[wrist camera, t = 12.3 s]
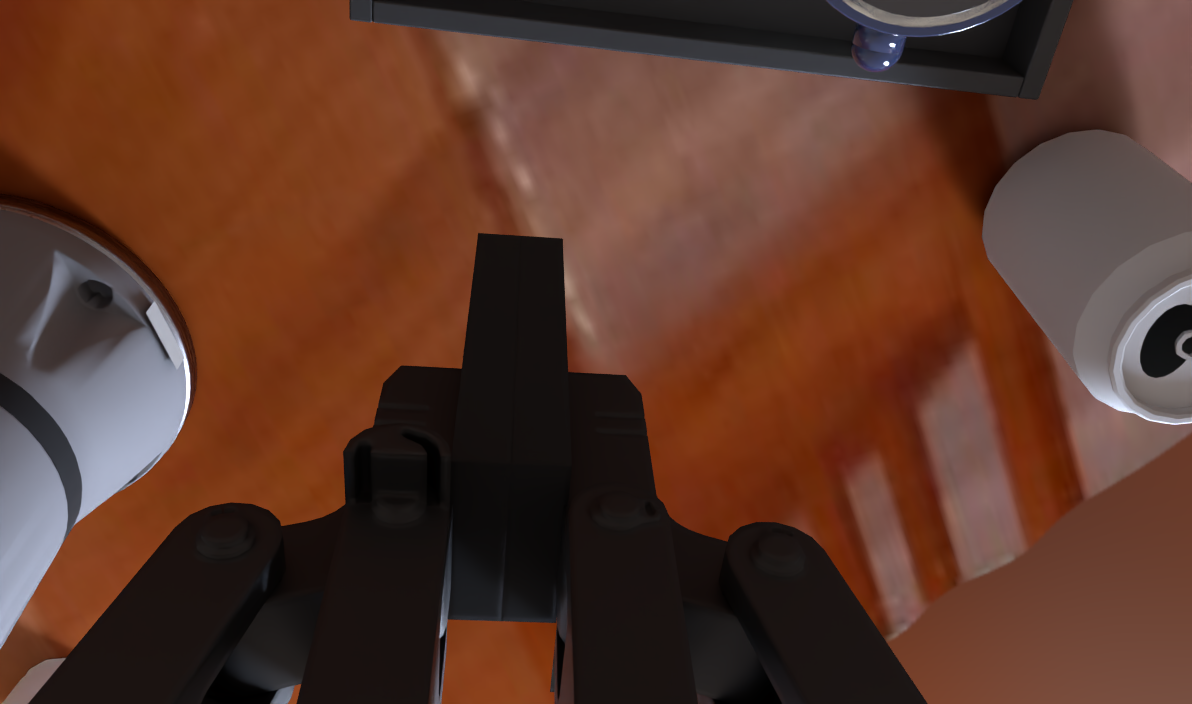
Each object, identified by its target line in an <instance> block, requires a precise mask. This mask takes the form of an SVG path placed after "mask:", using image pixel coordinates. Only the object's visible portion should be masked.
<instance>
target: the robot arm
mask: <svg viewBox="0 0 1192 704" xmlns="http://www.w3.org/2000/svg"><path fill="white" fill-rule="evenodd" d="M196 382H197V364H196V357H195V351H194V346H193V343H192V339H191V336H190V333H189V330H188V328H187V325H186V323H185V320H184V318H183V316H182V314H181V312H180V311H179V309H178V307H177V305H176V304H175V302H174V300H173V299H172V297H171V296H170V294H169V293H168V291H167V290H166V289H165V287H164V286H163V285H162V283H161V282H160V281H159V279H158V278H157V277H156V276H155V275H154V274H153V273H152V272H151V271H150V270H149V268H148V267H147V266H146V265H145V264H144V263H143V262H141V261H140V260H139V259H138V258H137V257H136V256H135V255H134V254H133V253H132V252H130V251H129V250H128V249H127V248H125V247H124V246H123V245H122V244H120V243H119V242H118V241H116V240H115V239H114V238H112V237H111V236H109V235H108V234H106V233H105V232H103V231H102V230H100V229H98V228H97V227H95V226H93V225H91V224H90V223H88V222H86V221H84V220H82V219H80V218H78V217H76V216H74V215H72V214H70V213H68V212H65V211H63V210H60V209H57V208H55V207H52V206H50V205H47V204H43V203H40V202H37V201H34V200H30V199H26V198H21V197H17V196H12V195H5V194H0V649H1V647H2V646H3V644H4V642H5V641H6V639H7V637H8V636H9V634H10V632H11V630H12V629H13V627H14V625H15V624H16V622H17V620H18V619H19V617H20V615H21V613H22V612H23V610H24V608H25V607H26V605H27V603H28V602H29V600H30V598H31V596H32V595H33V593H34V591H35V590H36V588H37V586H38V585H39V583H40V581H41V580H42V578H43V576H44V574H45V573H46V571H47V569H48V568H49V566H50V564H51V563H52V561H53V559H54V557H55V556H56V554H57V552H58V550H59V548H60V547H61V545H62V544H63V542H64V540H65V539H66V537H67V536H68V534H69V532H70V531H71V529H72V528H73V526H74V525H75V524H76V523H77V522H78V521H80V520H81V519H82V518H84V517H85V516H86V515H88V514H89V513H90V512H91V511H93V510H94V509H95V508H97V507H98V506H99V505H100V504H102V503H103V502H104V501H105V500H107V499H108V498H109V497H111V496H112V495H113V494H115V493H117V492H119V491H121V490H123V489H125V488H126V487H128V486H129V485H131V484H132V483H134V482H135V481H137V480H138V479H139V478H141V477H142V476H143V475H145V474H146V473H147V472H148V471H149V470H150V469H151V468H152V467H153V466H154V465H155V464H156V463H157V462H158V461H159V460H160V458H161V457H162V456H163V455H164V454H165V452H166V451H167V450H168V449H169V448H170V446H171V445H172V443H173V442H174V440H175V439H176V437H177V435H178V433H179V431H180V430H181V428H182V426H183V424H184V422H185V420H186V418H187V416H188V414H189V412H190V409H191V407H192V404H193V400H194V396H195V391H196ZM343 456H344V478H345V500H346V504H345V505H344V506H342V507H341V508H340V509H338V510H337V511H335V512H333V513H331V514H329V515H326V516H324V517H322V518H318V519H315V520H311V521H307V522H302V523H297V524H292V525H286V526H281V524H280V521H279V520H278V519H277V518H276V517H275V516H274V515H273V514H272V513H271V512H270V511H269V510H266V509H264V508H261V507H258V506H256V505H253V504H244V503H226V504H220V505H215V506H209V507H207V508H205V509H202V510H200V511H198V512H196V513H193V514H191V515H189V516H188V517H187V518H186V519H185V520H183V521H182V522H181V523H180V524H179V525H177V526H176V527H175V528H174V529H173V531H172V532H171V533H170V534H169V535H168V536H167V538H166V539H165V540H164V541H163V542H162V544H161V545H160V546H159V547H158V548H157V550H156V551H155V552H154V553H153V554H152V556H151V557H150V558H149V559H148V560H147V562H146V563H145V564H144V565H143V566H142V568H141V569H140V570H139V571H138V572H137V574H136V575H135V576H134V577H133V578H132V580H131V581H130V582H129V583H128V584H127V586H126V587H125V588H124V589H123V590H122V592H121V593H120V594H119V595H118V596H117V598H116V599H115V600H114V601H113V602H112V604H111V605H110V606H109V607H108V608H107V610H106V611H105V612H104V613H103V614H102V616H101V617H100V618H99V619H98V620H97V622H96V623H95V624H94V625H93V626H92V628H91V629H90V630H89V631H88V632H87V634H86V635H85V636H84V637H83V638H82V640H81V641H80V642H79V643H78V644H77V646H76V647H75V648H74V649H73V650H72V651H71V653H70V654H69V655H68V656H67V657H66V659H65V660H64V661H63V662H62V663H61V665H60V666H59V667H58V668H57V669H56V671H55V672H54V673H53V674H52V675H51V677H50V678H49V679H48V680H47V681H46V683H45V684H44V685H43V686H42V687H41V689H40V690H39V691H38V692H37V693H36V695H35V696H34V697H33V698H32V699H31V701H30V702H29V703H28V704H288V702H289V700H290V698H291V696H292V693H293V689H294V686H295V685H298V684H301V688H300V692H299V696H298V700H297V704H441V700H442V689H443V679H444V669H445V659H446V644H447V619H454V620H485V621H517V622H548V623H556V618H557V630H556V640H555V650H554V660H553V670H552V679H551V689H550V692H555V704H698V703H699V704H927V702H926V701H925V699H924V698H923V696H922V695H921V693H920V692H919V690H918V689H917V687H916V686H915V684H914V683H913V681H912V680H911V678H910V677H909V675H908V674H907V672H906V671H905V669H904V668H903V667H902V665H901V664H900V662H899V661H898V659H897V658H896V656H895V655H894V653H893V652H892V650H891V649H890V647H889V646H888V644H887V643H886V641H885V640H884V638H883V637H882V635H881V634H880V632H879V631H878V629H877V628H876V626H875V625H874V623H873V622H872V620H871V619H870V617H869V616H868V614H867V613H866V611H865V610H864V608H863V607H862V605H861V604H860V602H859V601H858V599H857V598H856V596H855V595H854V594H853V592H852V591H851V589H850V588H849V586H848V585H847V583H846V582H845V580H844V579H843V577H842V576H841V574H840V573H839V571H838V570H837V568H836V567H835V565H834V564H833V562H832V561H831V559H830V558H829V556H828V555H827V553H826V552H825V550H824V549H823V548H822V547H821V546H820V545H819V544H818V543H817V542H816V541H815V540H814V539H813V538H812V537H810V536H809V535H807V534H805V533H803V532H802V531H800V530H798V529H796V528H794V527H790V526H787V525H783V524H779V523H776V522H755V523H752V524H749V525H745V526H742V527H740V528H739V529H737V530H736V531H735V532H734V533H733V534H732V535H730V536H729V540H728V542H726V541H723V540H719V539H716V538H712V537H708V536H705V535H702V534H699V533H696V532H694V531H691V530H688V529H687V528H685V527H683V526H681V525H680V524H678V523H676V522H675V521H674V520H673V519H672V518H671V517H669V515H668V513H667V510H666V508H665V506H664V504H663V502H661V501H660V500H659V499H658V498H657V495H656V490H655V483H654V476H653V470H652V463H651V456H650V449H649V443H648V436H647V429H646V422H645V419H644V409H643V402H642V395H641V393H640V392H639V391H638V390H637V388H636V387H635V386H634V385H633V384H632V382H631V381H630V380H629V379H628V377H627V376H626V375H611V374H592V373H573V372H568V360H567V336H566V311H565V286H564V262H563V239H560V238H545V237H529V236H514V235H498V234H483V233H478V240H477V248H476V257H475V265H474V273H473V281H472V290H471V298H470V306H469V314H468V322H467V331H466V339H465V347H464V355H463V363H462V369H457V368H438V367H419V366H400V367H399V368H398V369H397V370H396V371H395V372H394V373H393V374H392V375H391V376H390V377H389V378H388V379H387V380H386V381H385V382H384V383H383V387H382V391H381V396H380V400H379V405H378V408H377V412H376V417H375V423H374V425H373V427H372V428H369V429H366V430H364V431H362V432H361V433H359V434H358V435H356V436H355V437H354V438H352V439H351V440H350V441H349V443H348V445H347V446H346V448H345V450H344V451H343Z"/></svg>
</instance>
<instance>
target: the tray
mask: <svg viewBox="0 0 1192 704" xmlns="http://www.w3.org/2000/svg"><path fill="white" fill-rule="evenodd" d="M1072 3H1073V0H1023V1H1021V2H1020V3H1019V4H1017V5H1016V6H1014V7H1012V8H1011V9H1009V10H1008V11H1006V12H1004V13H1003V14H1001V15H999V16H997V17H995V18H993V19H991V20H989V21H987V22H985V23H982V24H980V25H977V26H974V27H972V28H969V29H966V30H963V31H959V32H955V33H950V34H945V35H941V36H929V37H907V39H906V43H905V46H904V50H903V53H902V55H901V57H900V59H899V60H898V62H897V63H896V64H895V65H894V66H892V67H891V68H889V69H887V70H885V71H881V72H869V71H867V70H864V69H862V68H861V67H860V66H858V64H857V63H856V62H855V60H854V58H853V56H852V53H851V42H852V37H853V33H854V29H855V25H856V22H855V21H853V20H851V19H849V18H847V17H846V16H844V15H843V14H842V13H840V12H839V11H837V10H836V9H835V8H833V7H832V6H831V5H830V4H829V3H828V2H827V1H826V0H350V20H355V21H364V22H372V21H373V22H375V23H383V24H391V25H400V26H408V27H417V28H425V29H434V30H443V31H451V32H460V33H468V34H477V35H485V36H494V37H503V38H511V39H520V40H528V41H537V42H545V43H554V44H563V45H571V46H580V47H588V48H597V49H605V50H614V51H622V52H631V53H640V54H648V55H657V56H665V57H674V58H682V59H691V60H700V61H708V62H717V63H725V64H734V65H742V66H751V67H760V68H768V69H777V70H785V71H794V72H802V73H811V74H820V75H828V76H837V77H845V78H854V79H862V80H871V81H880V82H888V83H897V84H905V85H914V86H922V87H931V88H940V89H948V90H957V91H965V92H974V93H982V94H991V95H1000V96H1008V97H1019V98H1025V99H1034V100H1036V99H1038V98H1039V96H1040V93H1041V90H1042V87H1043V84H1044V82H1045V79H1046V76H1047V73H1048V70H1049V67H1050V65H1051V62H1052V59H1053V56H1054V53H1055V51H1056V48H1057V45H1058V42H1059V39H1060V36H1061V34H1062V31H1063V28H1064V25H1065V22H1066V20H1067V17H1068V14H1069V11H1070V8H1071V5H1072Z"/></svg>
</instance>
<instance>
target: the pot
mask: <svg viewBox="0 0 1192 704" xmlns="http://www.w3.org/2000/svg"><path fill="white" fill-rule="evenodd" d="M826 1H827V2H828V3H829V4H830V5H831V6H832V7H833V8H835V9H836V10H837V11H839V12H840V13H842V14H843V15H844V16H846V17H847V18H849V19H851V20H853V21H855V22H856V25H855V29H854V33H853V37H852V42H851V53H852V56H853V58H854V60H855V62H856V63H857V64H858V66H860V67H861V68H862V69H864V70H867V71H869V72H881V71H885V70H887V69H889V68H891V67H892V66H894V65H895V64H896V63H897V62H898V60H899V59H900V57H901V55H902V53H903V50H904V46H905V43H906V39H907V37H929V36H941V35H945V34H950V33H955V32H959V31H963V30H966V29H969V28H972V27H974V26H977V25H980V24H982V23H985V22H987V21H989V20H991V19H993V18H995V17H997V16H999V15H1001V14H1003V13H1004V12H1006V11H1008V10H1009V9H1011V8H1012V7H1014V6H1016V5H1017V4H1019V3H1020V2H1021V1H1023V0H826Z"/></svg>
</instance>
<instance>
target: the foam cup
mask: <svg viewBox="0 0 1192 704" xmlns="http://www.w3.org/2000/svg"><path fill="white" fill-rule="evenodd" d="M65 659H66V658H59V659H49V660H45V661H43V662H41V663H39V664H38V665H36V666H34V667H32V668H31V669H29V670H28V672H27V674H26V675H25V676H24V677H22V678H21V680H20V681H19V682H18V684H17V685H16V686H15V687H14V689H13V690H12V691H11V693H10V694H9V695H8V696H7V698H6V699H5V700H4V702H3V703H2V704H28V703H29V702H30V701H31V699H32V698H33V697H34V696H35V695H36V693H37V692H38V691H39V690H40V689H41V687H42V686H43V685H44V684H45V683H46V681H47V680H48V679H49V678H50V677H51V675H52V674H53V673H54V672H55V671H56V669H57V668H58V667H59V666H60V665H61V663H62V662H63V661H64V660H65Z"/></svg>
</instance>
